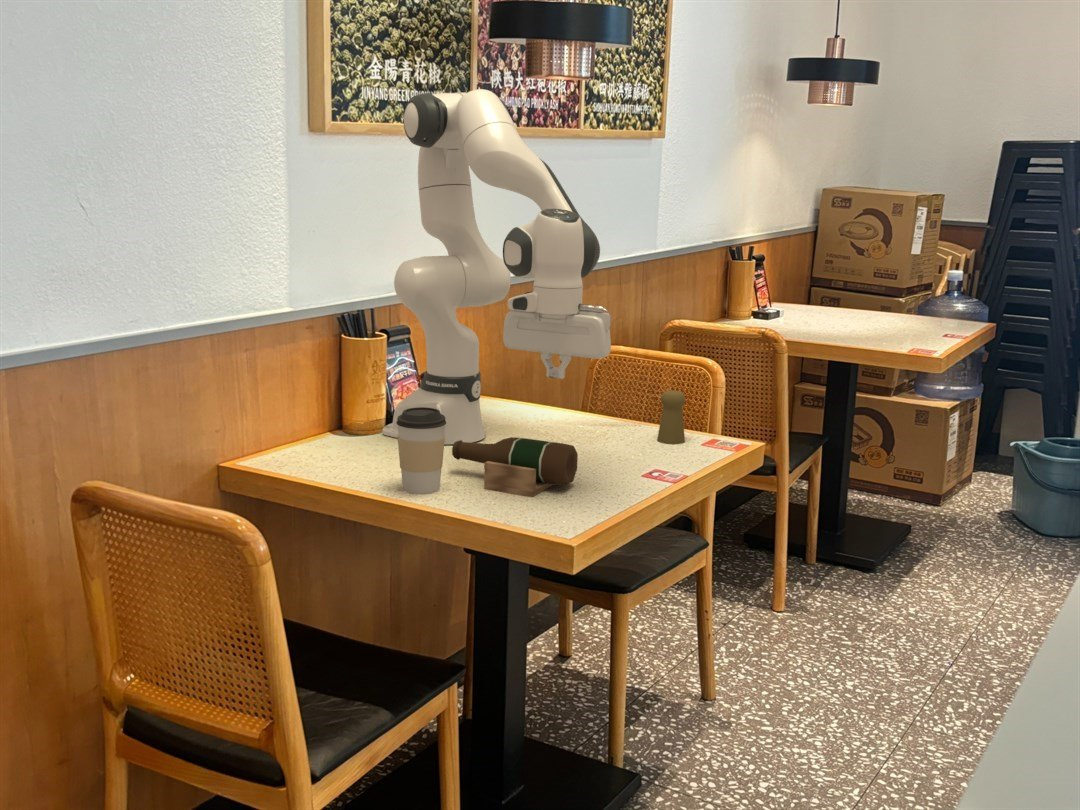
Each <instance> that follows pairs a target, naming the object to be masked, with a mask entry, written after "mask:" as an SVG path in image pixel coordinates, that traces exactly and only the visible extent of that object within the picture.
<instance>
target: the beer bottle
mask: <svg viewBox="0 0 1080 810" xmlns="http://www.w3.org/2000/svg"><path fill="white" fill-rule="evenodd" d="M452 445H453V446H452V448H451V455H452V456H453V458H454V459H456V460H457V461H459V460H461V459H462V460H467V461H472V462H475V463H481V464H483V465H484V464H485V462H487V461H490V462H496V463H503V464H509V465H515V466H521V467H527V468H533V469H536V482H541V483H548V484H554V485H556V486H568V485H569V484H571V483H572V482H574V479H575V477H576V473H577V471H578V459H579V456H578V451H577V449H576V447H575V446H574V445H573V444H568V443H563V442H562V443H560V442H554V441H548V440H547V441H546V440H541V439H540V440H539V439H532V438H526V437H515V436H514V437H508V438H503V439H501V440H499V441H497V442H495V443H483V442H482V443H481V442H480V443H478V442H472V443H468V442H463V441H462V440H460V441H456V442H454V444H452Z"/></svg>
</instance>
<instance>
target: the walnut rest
mask: <svg viewBox="0 0 1080 810" xmlns="http://www.w3.org/2000/svg"><path fill="white" fill-rule="evenodd" d="M483 465H484V468H483V469H484V471H483V473H484V477H483V478H484V479H483V483H484V484H483V489H484V490H488V491H489V490H490V491H494V492H495V491H496V492H502V493H508V494H511V495H512V494H513V495H518V496H524V497H531V498H534V497H535V496H537V495H539V494H540V493H542V492H543V491H546V490H547V489H549V488H550V487H552V486H553V485H554V484H548V483H541V482H536V469H533V468H527V467H521V466H515V465H509V464H503V463H496V462H490V461H487V462H485V464H484V463H483Z"/></svg>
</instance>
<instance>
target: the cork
mask: <svg viewBox="0 0 1080 810" xmlns="http://www.w3.org/2000/svg"><path fill="white" fill-rule="evenodd" d="M660 401H661V404H662V410H661V417H660V422H659V428H658V434H657V439H656V440H657V441H658V442H659V443H662V444H665V445H666V444H667V445H682V444H684V443H685V442H686V440H685V439H686V438H685V427H684V425H685V423H684V412H683V407H684V405H685V403H686V395H685V393H684V392H682V391H680V390H671V389H670V390H665V391H663V393H661V397H660Z"/></svg>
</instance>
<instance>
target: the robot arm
mask: <svg viewBox="0 0 1080 810" xmlns="http://www.w3.org/2000/svg"><path fill="white" fill-rule="evenodd" d="M403 129H404V133H405V135H406V137H407V139H408V140H409V141H410V142H411V144H413V145H415V146H417V147H419V152H418V161H417V162H418V163H417V184H418V185H417V187H418V198H419V208H420V220H421V225H422V227H423V229H424V230H425V232H426V233H427V234H429V235H430V236H432V237H433V238H435V239H438V240H439V241H440V242H441V243H442V244H443V246H444V247H445V249H446V251H447V255H432V256H431V255H428V256H420V257H415V258H412V259H409V260H406V261H405V260H404V261H403V262H402V263H401V264H400V265H399V266H398V268H397V270H396V271H395V276H394V279H393V280H394V282H393V284H394V291H395V294H396V297H397V298H398V300H399V301H400V302H401V303H402V304H403V306H405V307H406V308H407V309H409V310H410V311H411V312H412V313H413V314H414V315H415V316H416V317H415V318H417V320H418V322H419V323H420V325H421V328H422V330H423V333H424V338H425V347H426V349H425V350H426V371H423V372H421V373H420V374H417V375H416V376H415V377H416V379H415V381H416V382H418V381H420V383H419V387H418V388H417V389H415V391H413V392H411V393H410V394H409V395H408V396H406V397H405V398H403V400H401V401H400V402H398V403H397V405H396V407H395V409H394V412H393V419H392V422H391V423H389V424H387V425H384V427H383V428H382V432H381V434H382V435H385V436H387V437H392V438H395V439H398V425H397V424H396V422H397V418H398V416H400V415H402V413H403V411H404V410H406V409H409V408H417V407H427V408H435V409H438V410H439V411H440V413H441V414H442V415H444V416H445V421H446V424H445V432H444V435H445V441H444V446H445V445H454V442H456V441H460V440H462V441H463V442H468V443H477V442H479V441H481V440H483V439H485V438H486V432H485V428H484V425H483V424H484V423H483V420H482V413H481V404H480V403H481V402H480V398H481V392H482V390H481V389H482V388H481V387H482V382H481V381H482V379H481V372H480V371H479V370H480V369H479V368H480V363H479V362H480V340H479V338H478V336H477V334H476V332H475V331H474V330H473V329H471V328H470V327H468V326H466V325H465V324H462V323H461V322H459V320H458V317H457V309H458V308H469V307H470V308H472V307H474V308H475V307H484V306H489V305H491V304H495V303H498V302H501V301H503V300H504V299H506V296H507V295H508V293H509V291H510V287H511V286H512V285H511V284H512V276H511V274H512V275H513V276H515V277H518V278H521V279H533V280H534V281H533V284H532V285H533V290H532V291H528V292H527V291H526V292H524V293H523V294H519V295H516V296H513V297H510V298H508V299H507V308H508V310H509V311H508V312H506V315H505V318H504V321H503V330H502V331H503V332H502V333H503V334H502V341H503V344H504V346H505V348H506V349H508V350H510V349H511V350H518V351H527V352H534V353H535V352H537V353H540V360H541V361H542V363H543V365H544V367H545V370H546V378H549V379H550V378H551V379H558V380H564V378H565V377H566V376H565V375H566V368H567V367H568V365H569V364H570V363H571V361H572V357H578V358H588V359H596V360H601V359H604V358H606V357H608V356H609V355H610V354H611V351H612V343H611V342H612V341H611V327H612V315H611V313H610V311H609V310H608V309H606V308H605V307H604V306H601V305H591V304H584V303H583V295H584V294H583V293H584V292H583V291H584V284H583V283H584V282H583V278H585V277H587V276H588V275H589V274H590V273H591V272H592V271H593V270H594V269H595V267H596V266H597V263H598V262H599V259H600V255H601V246H600V242H599V239H598V237H597V235H596V233H595V232H594V230H593V229H592V228H591V227H590V226H589V225H588V223H587V222H585V220H584V219H583V218H582V217H581V215H580V214H579V212H578V210H577V209H576V207H575V206H574V203H573V202H572V201H571V198H570V197H569V196H568V194H567V192H566V191H565V189H564V188H563V186H562V184H561V182H560V181H559V179H558V178H557V176H556V174H555V173H554V172H553V170H552V169H551V167H550V166H549V164H547V163H546V162H545V161H544V160H542V159H541V158H539V156H538V155H536V154H535V153H534V152H533V151H532V150H531V149H530V148H529V146H527V144H526V143H525V142H524V141H523V139H522V137H521V136H520V134H519V132H518V130H517V128H516V125H515V123H514V121H513V119H512V117H511V115H510V112H509V109H508V107H507V104H506V103H505V101H504V100H503V99H501V98H499V97H498V95H497V94H496V93H494V92H492V91H491V90H488V89H482V88H481V89H478V88H477V89H473V90H470V91H468V92H459V91H457V92H456V91H455V92H444V93H430V92H425V93H420V94H416V95H413V96H412V97H410V99H409V100H408V102H407V103H406V105H405V108H404V110H403ZM470 170H471V171H472V172H473V174H474V175H475V176H476V178H477V179H478V180H480V181H481V182H483V183H484V184H486V185H489V186H491V187H494V188H499V189H503V190H505V191H510V192H513V193H516V194H520V195H522V196H523V197H524V196H525V198H526V197H527V198H528V199H529V200H532V201H533V202H534V203H536V205H537V206H538V208H539V209H540V211H539V212H538V213H537V215H536V217H535V218H534V220H532V221H529V222H528V223H526V224H522V225H520V226H516V227H514V228H512V229H511V230H510V231H509V232H508V233H507V235H506V237H505V239H504V241H503V245H502V258H501V257H499V256H498V255H497V254H496V253H494V251H492V250H491V248H490V247H489V246H488V244H487V243H486V241H485V240H484V238H483V237H482V234H481V233H480V230H479V227H478V224H477V219H476V214H475V207H474V200H473V199H474V198H473V189H472V182H471V180H472V179H471V173H470ZM554 355H559V359H558V360H559V361H561V363H560V364H559V365H558V366H554V364H553V361H552V359H551V358H553V357H554Z"/></svg>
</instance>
